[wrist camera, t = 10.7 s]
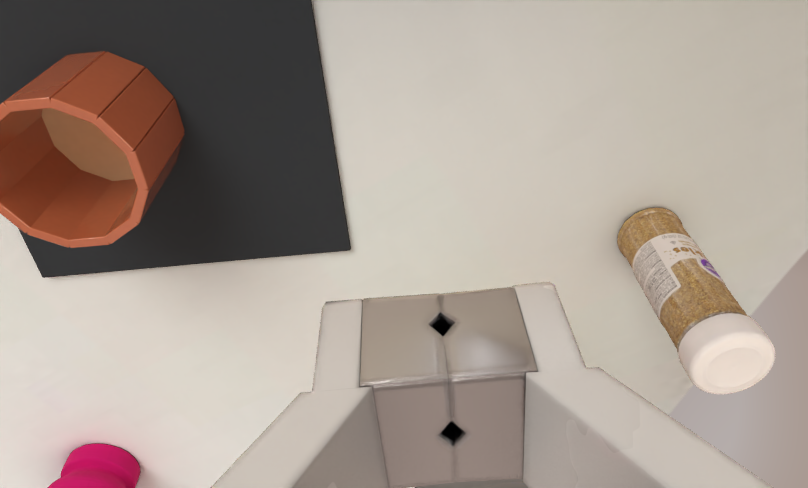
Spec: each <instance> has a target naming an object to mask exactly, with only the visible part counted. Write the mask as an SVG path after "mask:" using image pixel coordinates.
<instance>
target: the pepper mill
mask: <svg viewBox="0 0 808 488" xmlns="http://www.w3.org/2000/svg"><path fill="white" fill-rule="evenodd" d="M139 475H140V467H139V464H138V462H137V461H136V459H135V458H134V457H133V456H132V455H131V454H129V453H128V452H126V451H125V450H123V449H121V448H118V447H115V446H112V445H107V444H88V445H84V446H81V447H79V448H77V449H75V450H74V451H73V452H72V453H70V455H69V457H68V459H67V461H66V463H65V465H64V467H63V469H62V471H61V478H60V479H58V480H56V481H55V482H53V483H52V484H51V485H50V486H49V487H48V488H135V487H136V484H137V481H138V478H139Z"/></svg>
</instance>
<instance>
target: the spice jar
mask: <svg viewBox="0 0 808 488" xmlns="http://www.w3.org/2000/svg"><path fill="white" fill-rule="evenodd" d="M617 243H618V246H619V249H620V251H621V253H622V254H623V255H624V256H625V257H626V258H627V260H628V262H629V264H630V265H631V267H632V269H633V272H634V275H635V277H636V279H637V281H638V282H639V284H640V286H641V288H642V290H643V291H644V293H645V295H646V297H647V299H648V300H649V302H650V304H651V306H652V308H653V309H654V311H655V313H656V315H657V317H658V318H659V320H660V322H661V324H662V325H663V327H664V328H665V329H666V331H667V332H668V334H669V336H670V338H671V339H672V341H673V343H674V344H675V346H676V348H677V352H678V354H679V359H680V362H681V364H682V366H683V368H684V369H685V371H686V373H687V374H688V376H689V378H690V379H691V381H692V382H693V383H694V385H695V386H697V387H698V388H700V389H701V390H703V391H705V392H708V393H713V394H731V393H735V392H739V391H742V390H745V389H747V388H749V387H751V386H753V385H755V384H756V383H758V382H759V381H760V380H761V379H763V378H764V377H765V376H766V375H767V374H768V372H769V371H770V369H771V368H772V366H773V364H774V361H775V349H774V346H773V344H772V342H771V341H770V339H769V338H768V336H767V335H766V333H765V332H764V331H763V329H762V328H761V327H760V325H759V324H758V323H757V322H756V321H755V320H753V319H752V318H751V317H749V316H747V315H746V313H745V312H744V310H743V309H742V308H741V307H740V305H739V304H738V302H737V301H736V300H735V298H734V297H733V296H732V295H731V293H730V292H729V290H728V289H727V287H726V285H725V283H724V282H723V280H722V279H721V277H720V276H719V275H718V273H717V272H716V271H715V269H714V268H713V267H712V265H711V264H710V263H709V261H708V260H707V258H706V257H705V255H704V254H703V253H702V251H701V250H700V248H699V247H698V245H697V244H696V243H695V242H694V241H693V240H692V239H691V237H690V236H689V235H688V233H687V232H686V231H685V229H684V228H683V226H682V223H681V221H680V219H679V218H678V216H677V215H676V214H674V213H673V212H672V211H670V210H666V209H664V208H648V209H646V210H643V211H640V212H638V213H636V214H634V215H633V216H631V217H630V218H629V219H628V220H627V221H626V222H624V224H623V226H622V228H621V229H620V231H619V234H618V241H617Z"/></svg>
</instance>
